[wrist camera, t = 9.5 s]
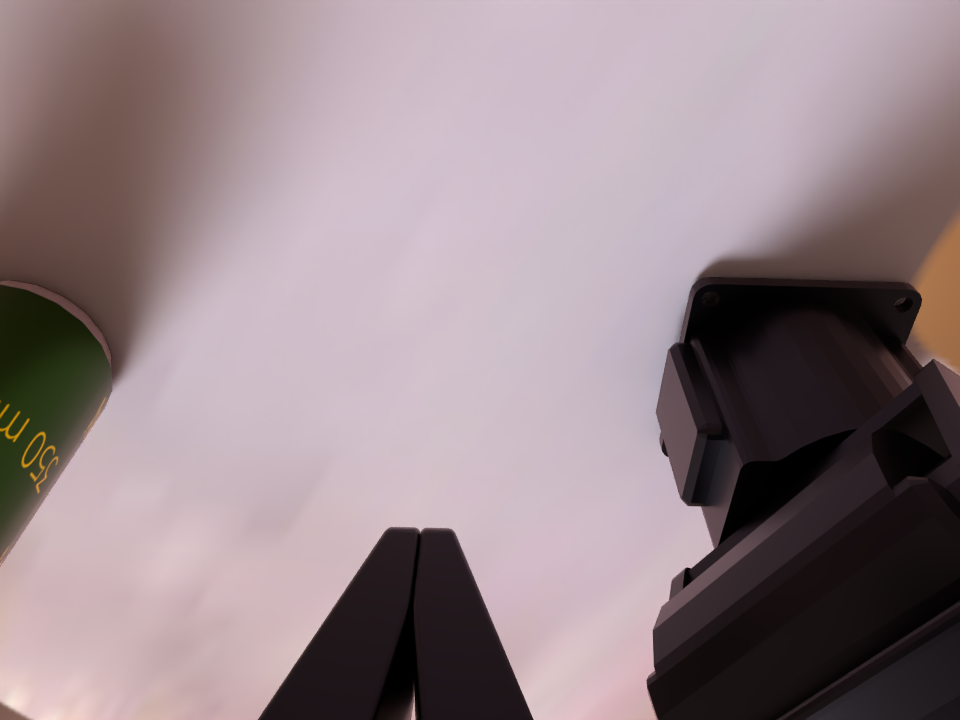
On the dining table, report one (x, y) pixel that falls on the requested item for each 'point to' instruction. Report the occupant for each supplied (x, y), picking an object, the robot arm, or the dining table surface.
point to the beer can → (43, 396)
